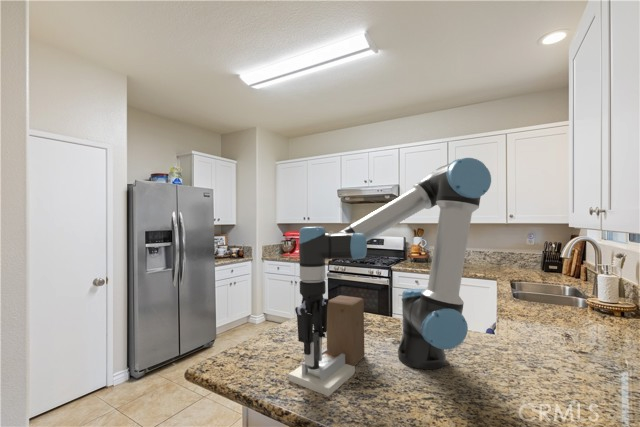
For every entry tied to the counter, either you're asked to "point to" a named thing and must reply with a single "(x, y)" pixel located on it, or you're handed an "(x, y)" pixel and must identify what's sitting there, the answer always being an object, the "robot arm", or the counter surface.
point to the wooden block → (346, 328)
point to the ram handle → (325, 357)
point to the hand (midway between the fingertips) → (313, 362)
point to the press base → (324, 375)
